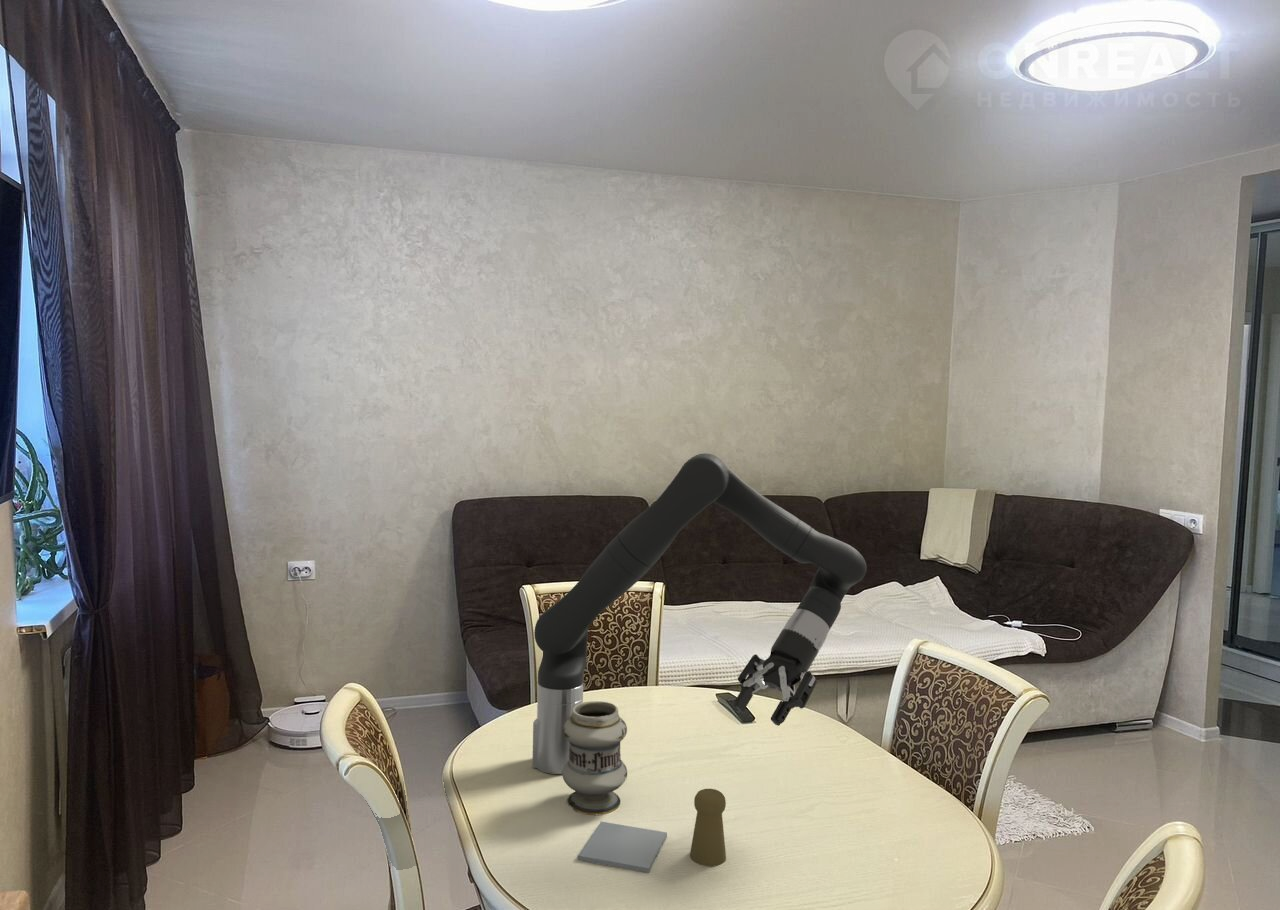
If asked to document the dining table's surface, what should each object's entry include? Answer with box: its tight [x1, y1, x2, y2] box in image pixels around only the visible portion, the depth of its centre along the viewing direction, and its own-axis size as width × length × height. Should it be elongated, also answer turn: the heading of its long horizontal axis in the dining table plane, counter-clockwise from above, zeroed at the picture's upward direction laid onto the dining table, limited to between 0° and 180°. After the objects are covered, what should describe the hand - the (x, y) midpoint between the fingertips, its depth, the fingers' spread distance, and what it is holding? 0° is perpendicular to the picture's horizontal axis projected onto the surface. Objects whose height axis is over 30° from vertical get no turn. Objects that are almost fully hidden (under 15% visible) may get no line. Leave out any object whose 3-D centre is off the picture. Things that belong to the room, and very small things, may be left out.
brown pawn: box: [689, 788, 727, 867], centre depth 144 cm, size 6×6×11 cm
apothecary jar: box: [561, 700, 628, 816], centre depth 162 cm, size 12×12×18 cm
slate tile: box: [577, 821, 668, 874], centre depth 147 cm, size 12×12×1 cm
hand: (756, 715), depth 153 cm, fingers open, 8 cm apart
